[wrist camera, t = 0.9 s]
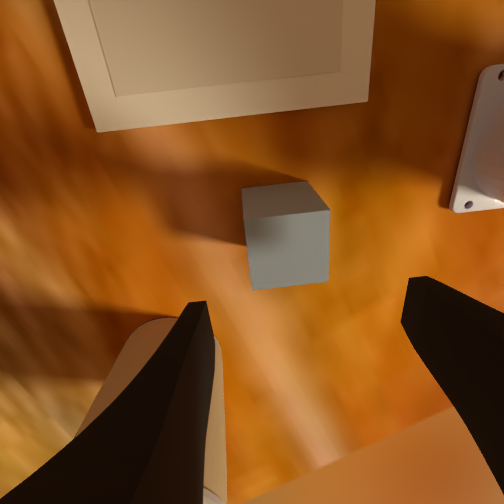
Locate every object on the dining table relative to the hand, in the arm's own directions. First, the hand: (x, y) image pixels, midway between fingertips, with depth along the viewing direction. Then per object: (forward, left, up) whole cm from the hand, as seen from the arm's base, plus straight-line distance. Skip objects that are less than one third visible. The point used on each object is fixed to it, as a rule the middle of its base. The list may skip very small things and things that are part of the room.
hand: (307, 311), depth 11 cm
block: (0, 0, -9) cm, 9 cm away
